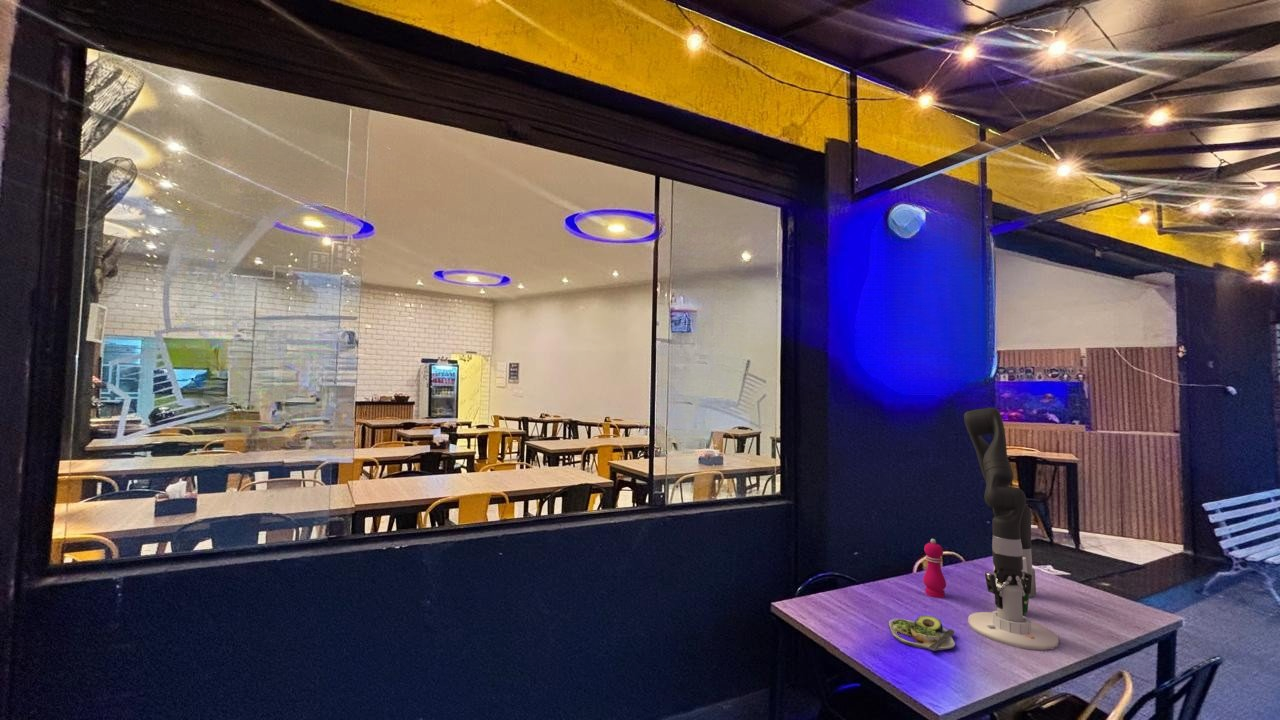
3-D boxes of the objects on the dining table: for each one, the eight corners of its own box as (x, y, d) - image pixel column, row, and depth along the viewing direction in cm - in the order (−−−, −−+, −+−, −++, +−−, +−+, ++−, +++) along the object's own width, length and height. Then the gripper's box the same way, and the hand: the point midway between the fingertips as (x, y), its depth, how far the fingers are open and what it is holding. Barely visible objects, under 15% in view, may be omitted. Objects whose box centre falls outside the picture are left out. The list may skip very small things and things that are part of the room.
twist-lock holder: (1014, 616, 162) (1013, 602, 163) (1079, 649, 141) (1078, 632, 141) (952, 617, 160) (951, 603, 161) (1008, 651, 139) (1007, 634, 139)
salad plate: (967, 662, 133) (966, 644, 133) (893, 649, 139) (893, 632, 140) (951, 632, 151) (951, 616, 151) (887, 621, 157) (886, 606, 158)
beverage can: (1023, 623, 151) (1022, 583, 152) (1022, 630, 146) (1020, 588, 147) (998, 617, 155) (996, 578, 156) (996, 623, 150) (994, 583, 151)
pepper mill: (919, 592, 182) (917, 537, 184) (932, 589, 185) (930, 535, 187) (938, 599, 175) (936, 542, 177) (951, 596, 178) (949, 540, 180)
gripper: (1018, 548, 157) (1020, 602, 156) (976, 548, 156) (978, 603, 154) (1039, 555, 150) (1042, 612, 148) (995, 555, 148) (998, 613, 147)
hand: (1009, 607), depth 151 cm, fingers closed on beverage can, 6 cm apart
